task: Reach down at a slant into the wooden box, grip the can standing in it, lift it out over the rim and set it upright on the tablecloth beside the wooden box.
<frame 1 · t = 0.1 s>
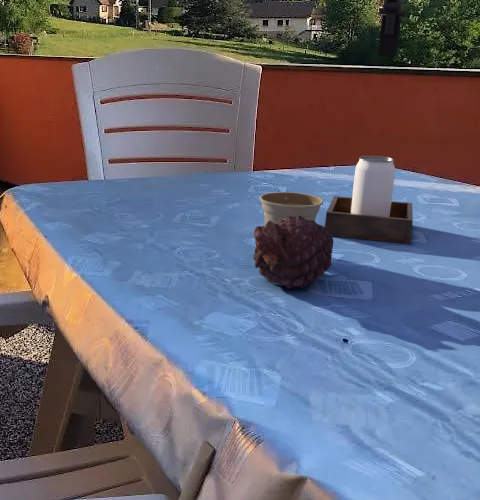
hand: (388, 55, 125), 29 cm above the table, tool pointing down, fingers open, 13 cm apart
pine cone: (294, 283, 97), on the table
wooden box: (368, 229, 124), on the table
flower pot: (286, 254, 109), on the table
can: (368, 227, 124), resting on wooden box
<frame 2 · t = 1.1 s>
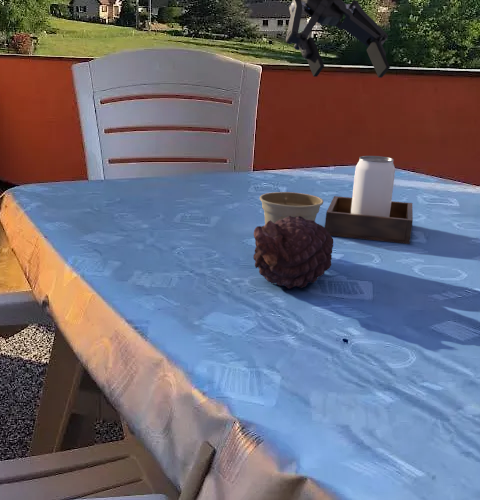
hand: (352, 72, 125), 26 cm above the table, tool tilted 45°, fingers open, 13 cm apart
nothing on the table moved.
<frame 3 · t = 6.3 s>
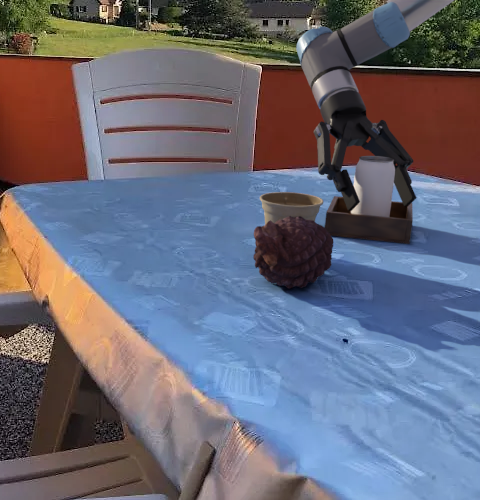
hand: (382, 204, 120), 5 cm above the table, tool tilted 45°, fingers open, 10 cm apart
nothing on the table moved.
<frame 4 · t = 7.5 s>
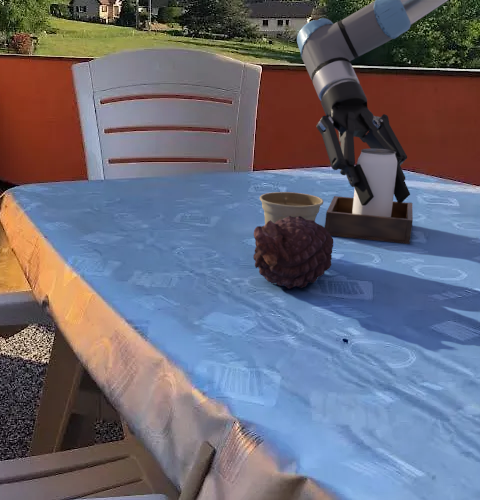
hand: (386, 199, 119), 6 cm above the table, tool tilted 45°, fingers closed on can, 6 cm apart
can: (370, 221, 123), point 2 cm above the table, touching gripper
everything else where it was.
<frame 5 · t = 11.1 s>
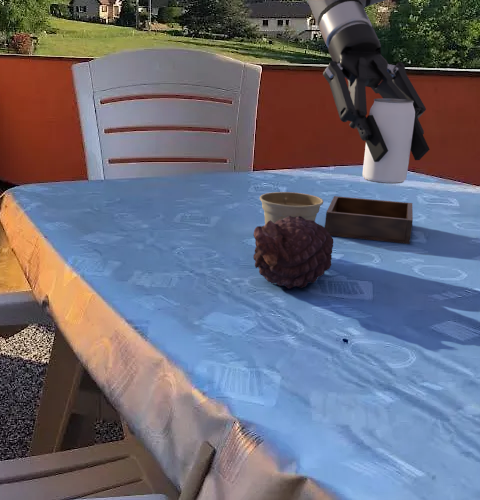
hand: (401, 155, 104), 16 cm above the table, tool tilted 45°, fingers closed on can, 6 cm apart
can: (383, 181, 108), point 11 cm above the table, touching gripper
everything else where it was.
when the fingers open (4 cm above the table, at t = 14.5 s): can stays where it is, on the table.
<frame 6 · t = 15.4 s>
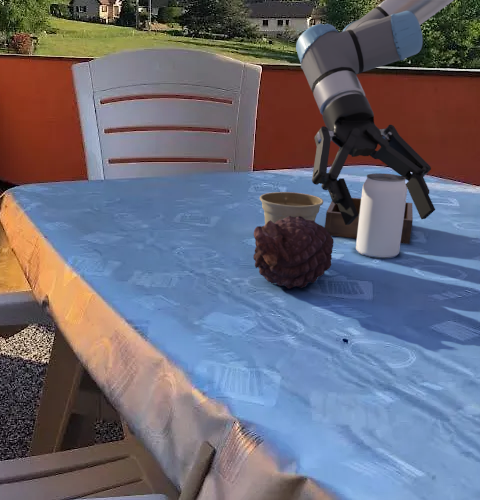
hand: (390, 217, 107), 6 cm above the table, tool tilted 45°, fingers open, 13 cm apart
can: (376, 253, 110), on the table
everything else where it was.
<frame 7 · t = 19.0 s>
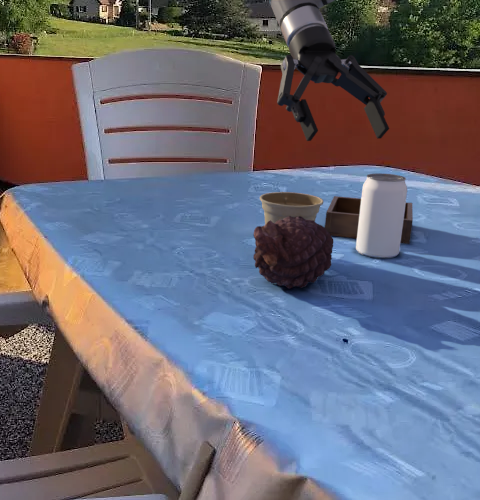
hand: (348, 134, 117), 17 cm above the table, tool tilted 45°, fingers open, 13 cm apart
nothing on the table moved.
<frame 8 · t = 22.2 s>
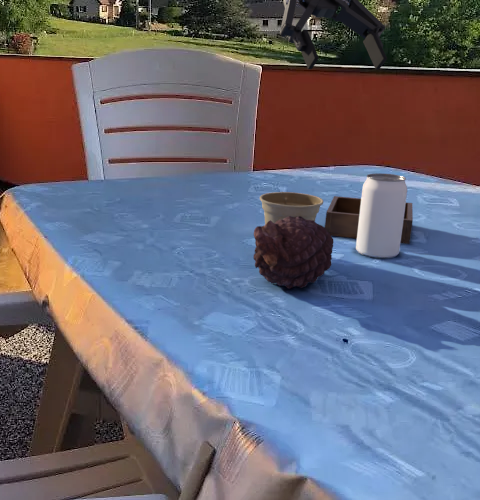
hand: (348, 64, 122), 28 cm above the table, tool tilted 45°, fingers open, 13 cm apart
nothing on the table moved.
at the end: can inside the target area (0.1 cm from its centre), on the table; can tilted 0°; the gripper is holding nothing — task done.
